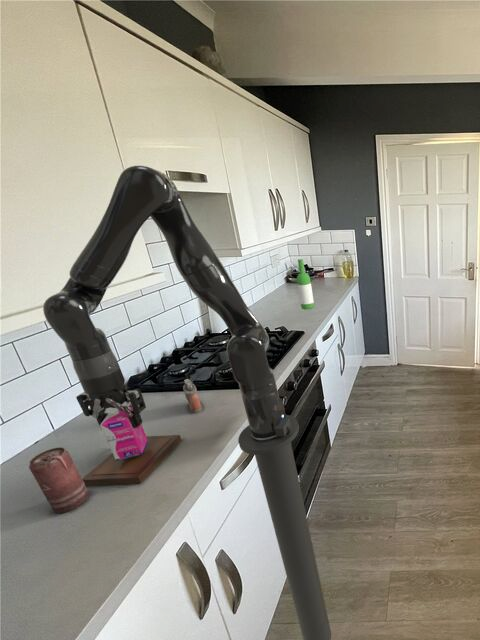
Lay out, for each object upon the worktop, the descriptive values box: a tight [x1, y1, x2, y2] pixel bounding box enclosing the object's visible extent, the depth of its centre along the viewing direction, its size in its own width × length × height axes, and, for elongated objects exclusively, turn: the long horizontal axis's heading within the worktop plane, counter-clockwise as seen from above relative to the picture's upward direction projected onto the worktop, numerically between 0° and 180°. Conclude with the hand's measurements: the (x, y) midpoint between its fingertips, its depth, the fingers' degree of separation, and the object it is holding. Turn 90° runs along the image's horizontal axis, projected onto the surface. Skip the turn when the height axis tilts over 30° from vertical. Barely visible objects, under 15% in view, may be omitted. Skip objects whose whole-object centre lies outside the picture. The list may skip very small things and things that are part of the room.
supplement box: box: [99, 407, 148, 461], centre depth 90 cm, size 6×6×12 cm
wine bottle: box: [296, 258, 315, 310], centre depth 210 cm, size 8×8×30 cm
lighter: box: [182, 378, 203, 414], centre depth 115 cm, size 8×3×10 cm, turn 43°
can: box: [28, 447, 90, 514], centre depth 79 cm, size 6×6×14 cm
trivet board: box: [82, 434, 182, 487], centre depth 93 cm, size 14×16×2 cm
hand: (122, 426), depth 89 cm, fingers closed on supplement box, 7 cm apart
